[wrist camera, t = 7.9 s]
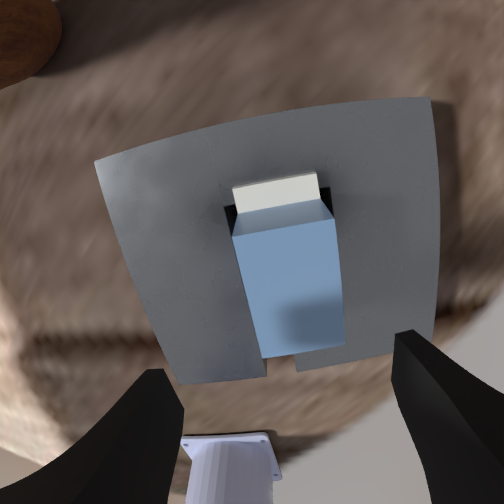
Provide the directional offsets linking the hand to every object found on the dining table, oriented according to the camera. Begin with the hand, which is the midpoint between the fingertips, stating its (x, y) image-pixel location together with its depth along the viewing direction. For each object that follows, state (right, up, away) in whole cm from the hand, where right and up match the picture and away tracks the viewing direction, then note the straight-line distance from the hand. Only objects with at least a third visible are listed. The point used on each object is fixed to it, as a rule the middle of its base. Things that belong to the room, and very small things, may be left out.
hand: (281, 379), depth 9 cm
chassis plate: (+1, +4, +8) cm, 9 cm away
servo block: (+1, +4, +8) cm, 10 cm away
